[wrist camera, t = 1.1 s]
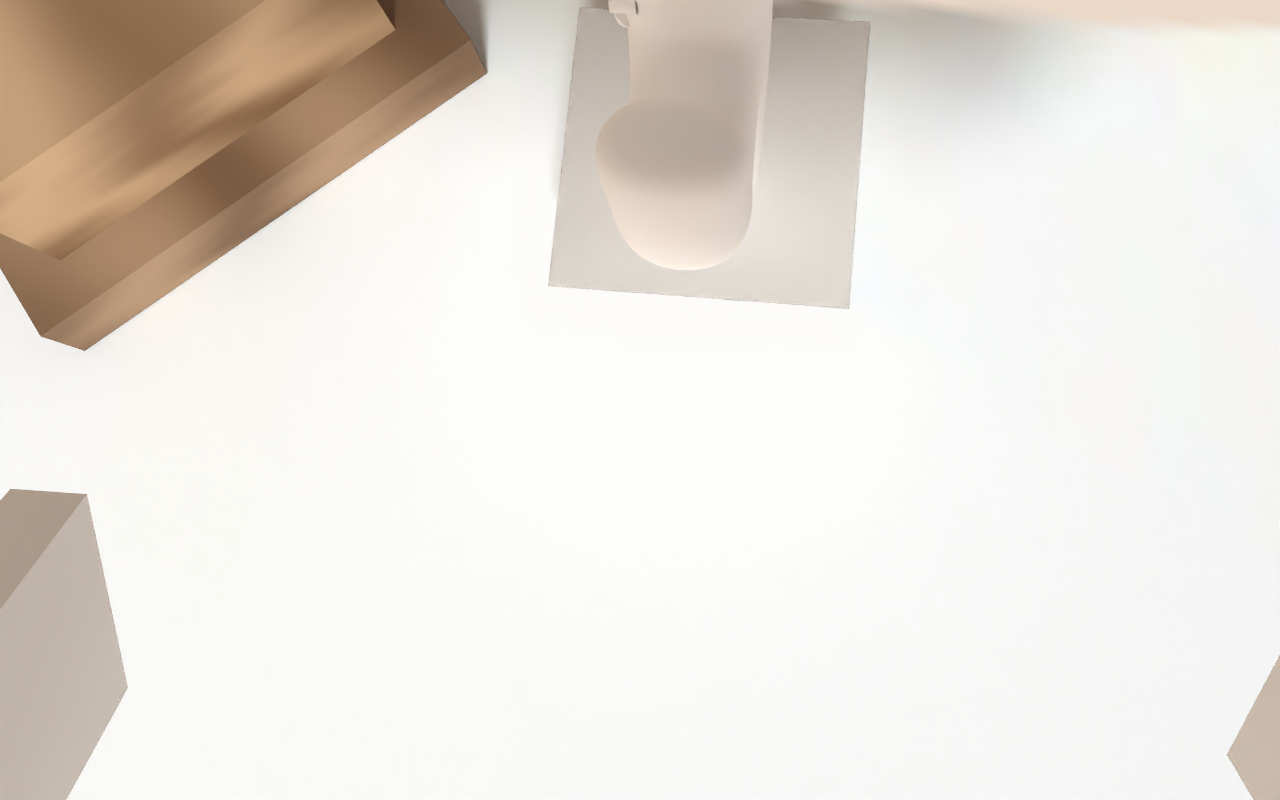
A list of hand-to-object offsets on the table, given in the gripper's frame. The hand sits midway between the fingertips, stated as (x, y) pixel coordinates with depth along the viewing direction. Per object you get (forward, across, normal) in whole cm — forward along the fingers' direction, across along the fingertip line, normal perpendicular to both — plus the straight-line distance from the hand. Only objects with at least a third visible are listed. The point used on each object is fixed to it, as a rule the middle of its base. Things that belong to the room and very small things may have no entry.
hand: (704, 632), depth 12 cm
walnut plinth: (+24, -15, 0) cm, 29 cm away
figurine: (+20, +2, -2) cm, 20 cm away
